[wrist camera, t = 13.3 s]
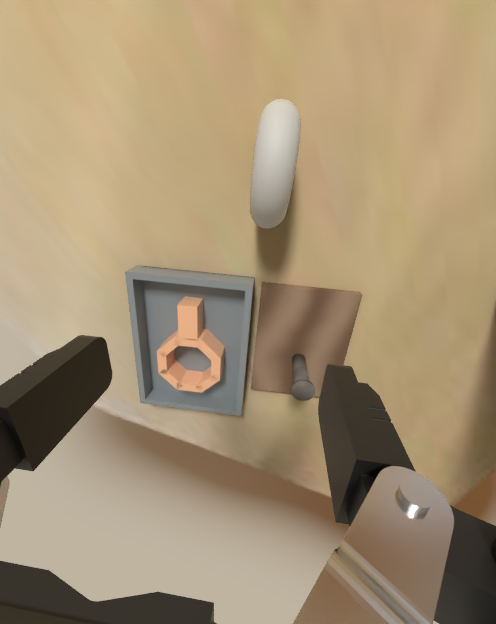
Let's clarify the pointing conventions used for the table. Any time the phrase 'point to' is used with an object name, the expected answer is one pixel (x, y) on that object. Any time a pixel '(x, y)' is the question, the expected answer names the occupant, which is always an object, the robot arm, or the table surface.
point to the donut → (274, 162)
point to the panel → (301, 337)
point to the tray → (163, 323)
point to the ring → (191, 336)
